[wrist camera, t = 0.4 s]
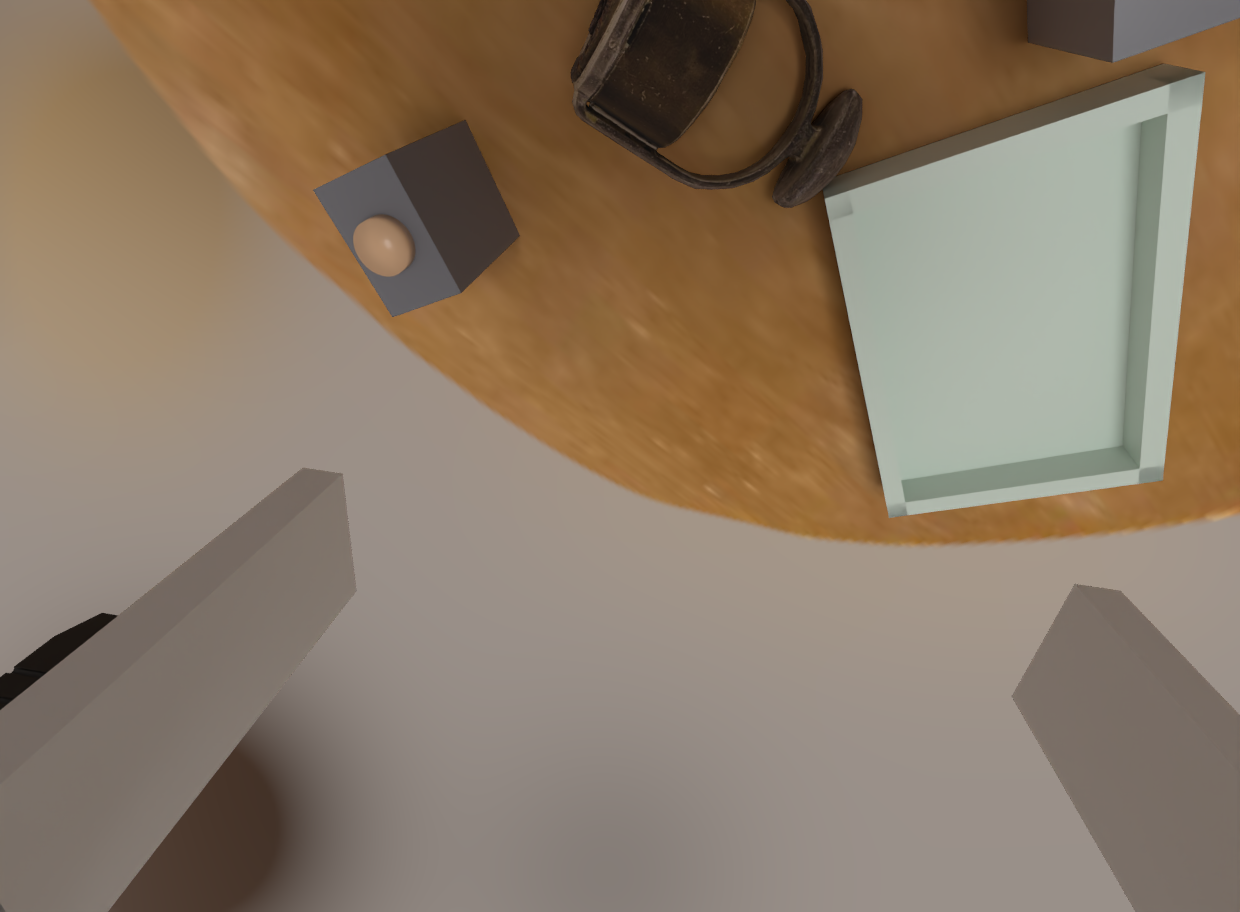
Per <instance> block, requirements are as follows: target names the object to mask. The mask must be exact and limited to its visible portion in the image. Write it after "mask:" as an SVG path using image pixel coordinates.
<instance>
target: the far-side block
mask: <svg viewBox="0 0 1240 912" xmlns="http://www.w3.org/2000/svg"><path fill="white" fill-rule="evenodd" d="M313 191H314V192H315V194H316V195H317V197H318V199H319V200H320V202H321V203H322V205H323V207H324V208H325V210H326V211H327V213H328V215H329V216H330V218H331V219H332V221H333V223H334V224H335V226H336V227H337V229H338V231H339V232H340V234H341V235H342V237H343V239H344V240H345V242H346V243H347V245H348V247H349V248H350V250H351V251H352V253H353V255H354V256H355V258H356V259H357V261H358V263H359V264H360V266H361V267H362V269H363V271H364V272H365V274H366V275H367V277H368V279H369V280H370V282H371V283H372V285H373V287H374V288H375V290H376V291H377V293H378V295H379V296H380V298H381V299H382V301H383V303H384V304H385V306H386V307H387V309H388V311H389V312H390V314H391V315H392V317H394V316H397V315H400V314H403V313H406V312H409V311H411V310H414V309H417V308H420V307H423V306H426V305H428V304H431V303H434V302H437V301H440V300H442V299H445V298H448V297H451V296H454V295H457V294H459V293H462V292H463V291H464V290H465V289H466V288H467V287H468V286H469V285H470V284H471V283H472V282H473V281H474V280H475V279H476V278H477V277H478V276H479V275H480V274H481V273H482V272H483V271H484V270H485V269H486V268H487V267H488V266H489V265H490V264H491V263H492V262H493V261H494V260H495V259H497V258H498V257H499V256H500V255H501V254H502V253H503V252H504V251H505V250H506V249H507V248H508V247H509V246H510V245H511V244H512V243H513V242H514V241H515V240H516V239H517V238H518V237H519V236H520V235H519V233H518V231H517V228H516V226H515V224H514V222H513V220H512V218H511V216H510V214H509V211H508V209H507V207H506V205H505V203H504V201H503V199H502V197H501V194H500V192H499V190H498V188H497V186H496V184H495V182H494V180H493V177H492V175H491V173H490V171H489V169H488V167H487V165H486V163H485V160H484V158H483V156H482V154H481V152H480V150H479V148H478V146H477V143H476V141H475V139H474V137H473V135H472V133H471V131H470V129H469V126H468V124H467V122H466V120H464V121H462V122H459V123H457V124H455V125H453V126H450V127H448V128H446V129H443V130H441V131H439V132H436V133H434V134H432V135H430V136H427V137H425V138H423V139H420V140H418V141H416V142H413V143H411V144H409V145H407V146H404V147H402V148H400V149H397V150H395V151H393V152H390V153H388V154H386V155H384V156H382V157H380V158H378V159H375V160H373V161H371V162H369V163H367V164H365V165H363V166H361V167H359V168H357V169H355V170H353V171H351V172H349V173H347V174H345V175H343V176H341V177H339V178H337V179H335V180H332V181H330V182H328V183H326V184H324V185H322V186H320V187H318V188H316V189H314V190H313Z"/></svg>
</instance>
